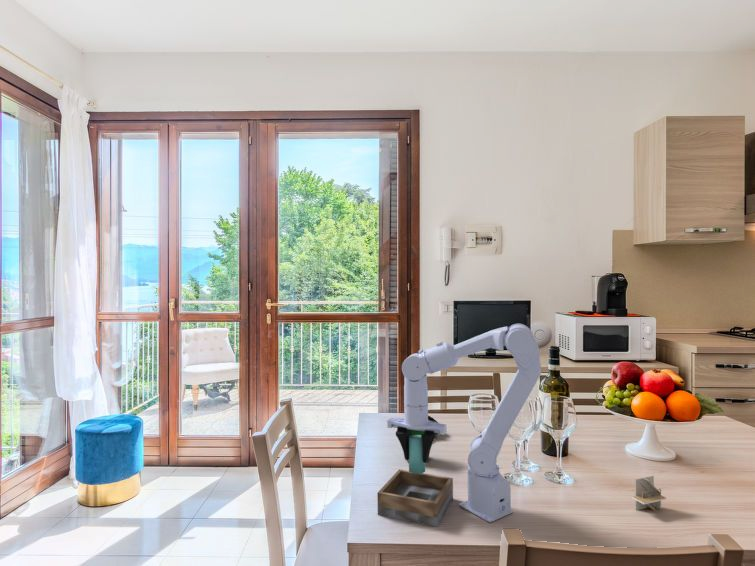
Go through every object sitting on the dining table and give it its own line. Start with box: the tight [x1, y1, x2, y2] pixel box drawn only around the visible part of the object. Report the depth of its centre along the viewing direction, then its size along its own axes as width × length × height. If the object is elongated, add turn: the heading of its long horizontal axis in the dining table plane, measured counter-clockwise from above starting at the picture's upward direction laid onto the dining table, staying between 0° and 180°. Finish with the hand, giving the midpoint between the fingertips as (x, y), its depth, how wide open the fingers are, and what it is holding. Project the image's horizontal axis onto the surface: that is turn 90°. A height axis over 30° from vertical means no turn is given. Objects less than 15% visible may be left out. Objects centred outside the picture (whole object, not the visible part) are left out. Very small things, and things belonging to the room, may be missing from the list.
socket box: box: [376, 469, 454, 528], centre depth 110 cm, size 14×14×5 cm
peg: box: [408, 435, 426, 474], centre depth 113 cm, size 4×4×8 cm
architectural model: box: [631, 475, 667, 511], centre depth 106 cm, size 3×7×7 cm, turn 109°
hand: (416, 459), depth 113 cm, fingers closed on peg, 4 cm apart
